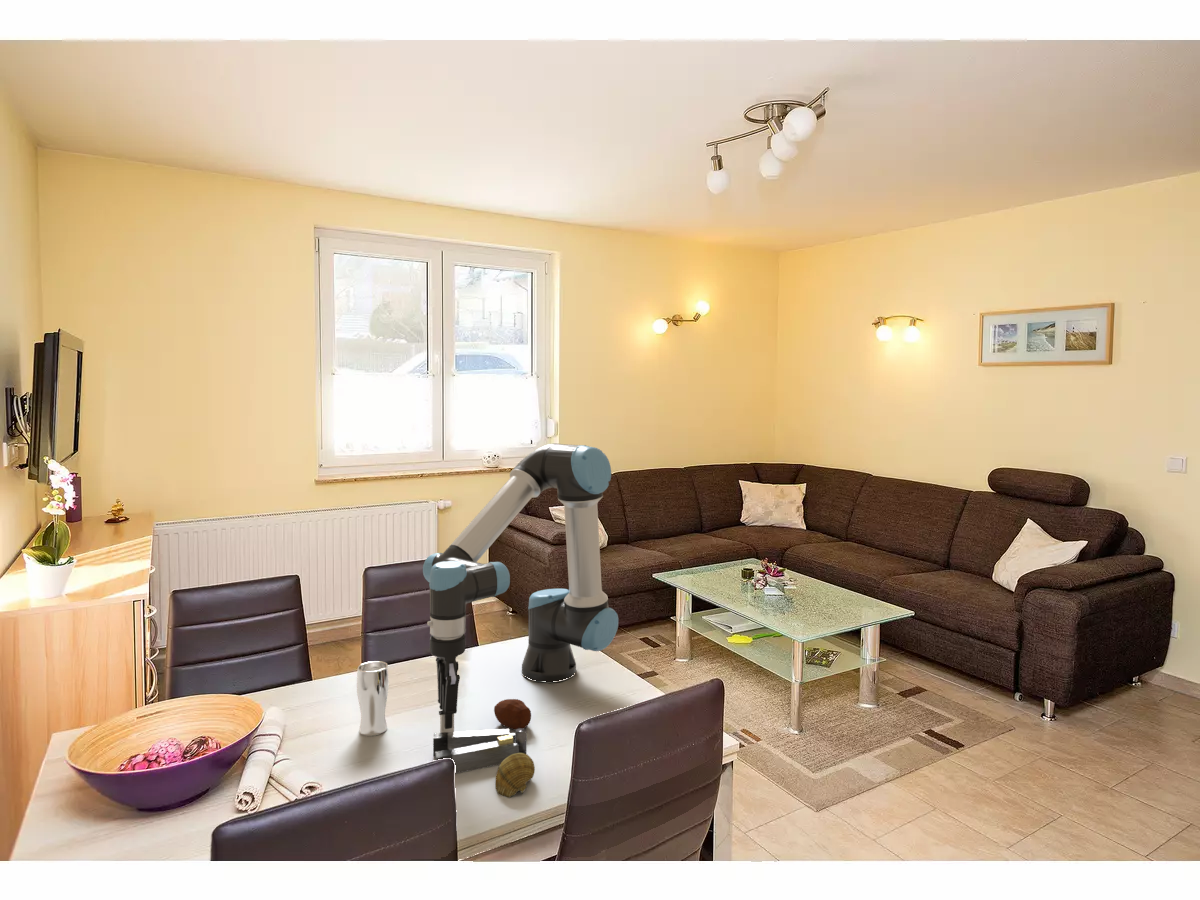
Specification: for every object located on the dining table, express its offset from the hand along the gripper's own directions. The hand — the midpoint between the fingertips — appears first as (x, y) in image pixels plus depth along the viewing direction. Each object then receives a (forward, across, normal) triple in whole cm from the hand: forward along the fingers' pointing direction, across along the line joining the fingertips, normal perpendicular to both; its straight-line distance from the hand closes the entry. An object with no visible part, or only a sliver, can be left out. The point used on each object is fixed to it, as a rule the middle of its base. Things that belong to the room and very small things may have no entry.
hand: (447, 740), depth 156 cm
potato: (+2, -5, +16) cm, 17 cm away
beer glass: (+2, -15, -14) cm, 21 cm away
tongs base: (+2, +9, +6) cm, 11 cm away
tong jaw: (+2, +4, +5) cm, 7 cm away
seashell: (+2, +19, +10) cm, 22 cm away
